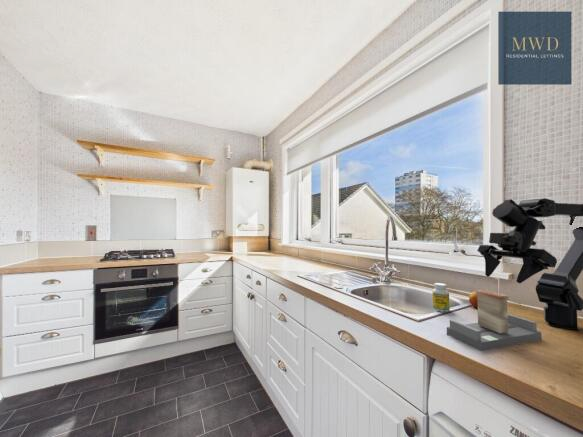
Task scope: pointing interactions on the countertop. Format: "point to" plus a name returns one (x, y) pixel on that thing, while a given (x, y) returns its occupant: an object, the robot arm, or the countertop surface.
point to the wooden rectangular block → (492, 311)
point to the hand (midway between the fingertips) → (501, 279)
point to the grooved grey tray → (495, 333)
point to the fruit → (473, 299)
